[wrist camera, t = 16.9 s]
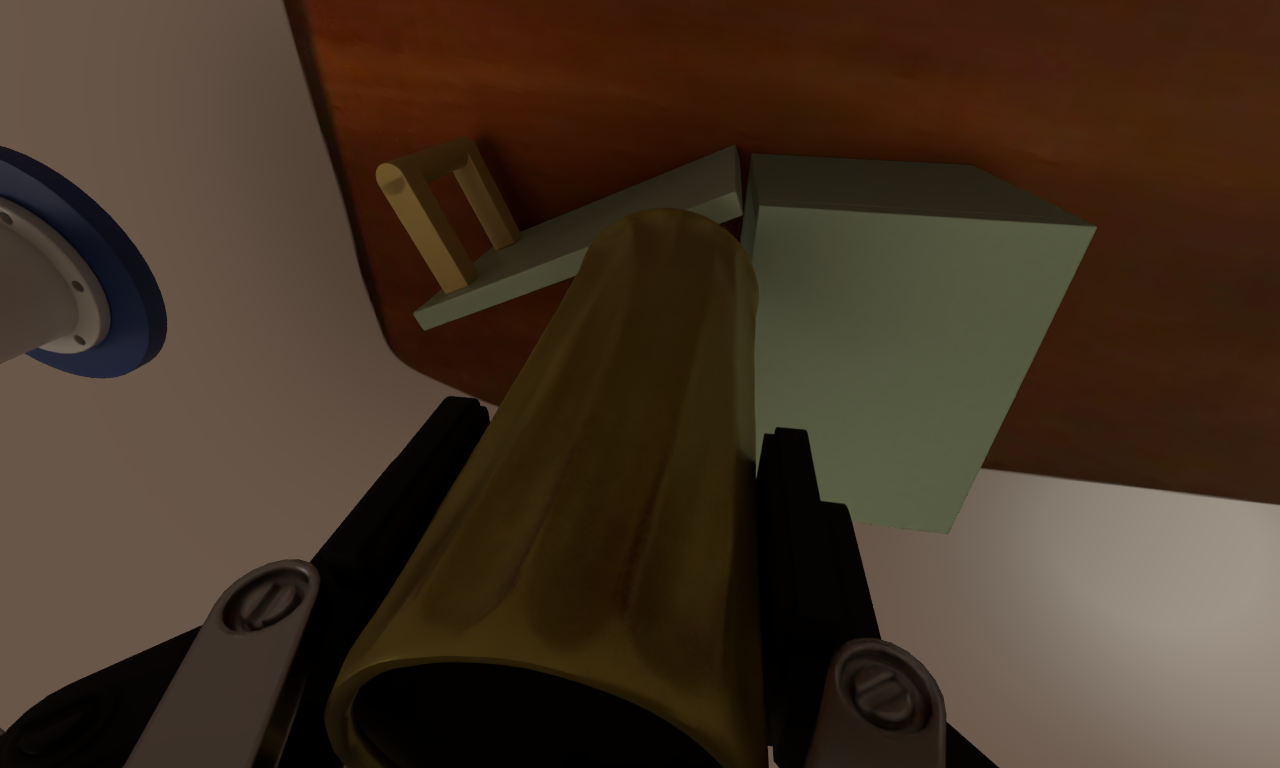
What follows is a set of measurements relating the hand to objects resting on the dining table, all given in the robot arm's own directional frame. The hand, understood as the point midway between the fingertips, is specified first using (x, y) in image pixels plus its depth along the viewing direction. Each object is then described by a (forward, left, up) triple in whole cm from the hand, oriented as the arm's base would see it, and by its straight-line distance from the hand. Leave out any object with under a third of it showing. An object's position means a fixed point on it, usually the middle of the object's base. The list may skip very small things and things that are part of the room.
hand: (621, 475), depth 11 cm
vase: (0, 0, -9) cm, 9 cm away
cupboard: (+9, -6, -25) cm, 28 cm away
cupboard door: (-6, +2, -25) cm, 26 cm away
